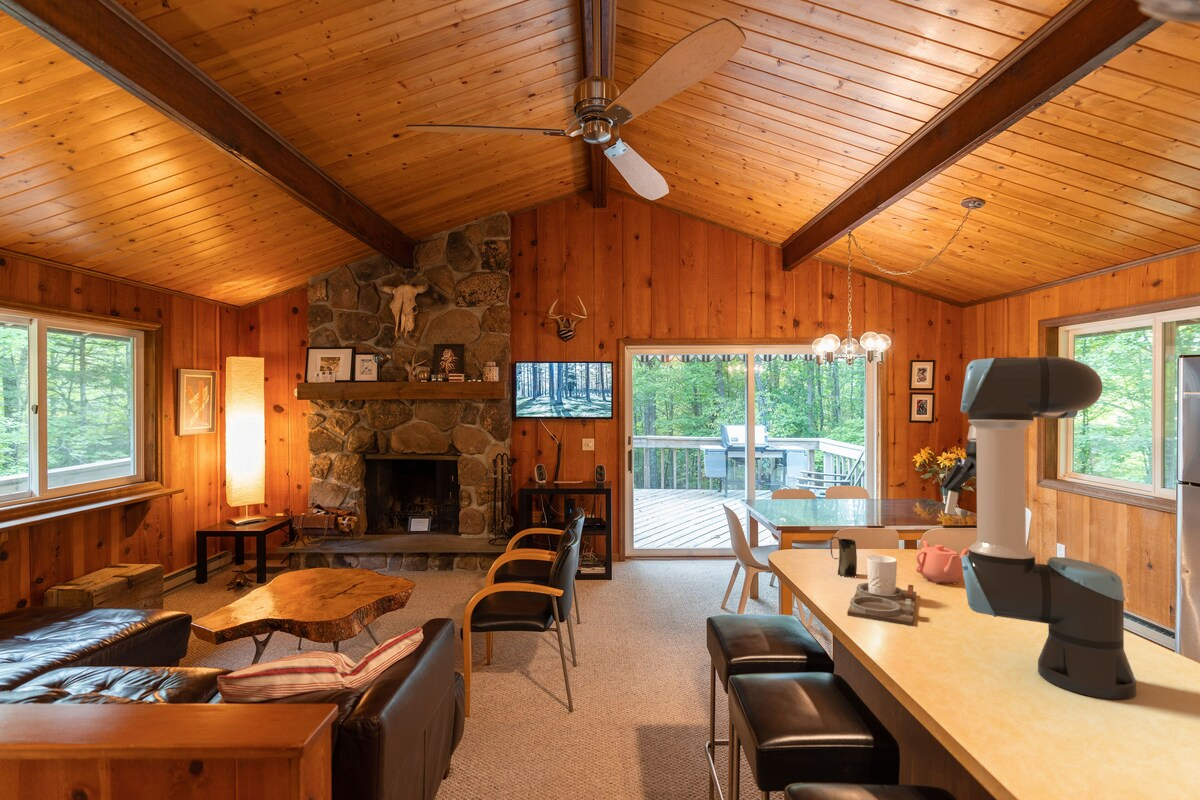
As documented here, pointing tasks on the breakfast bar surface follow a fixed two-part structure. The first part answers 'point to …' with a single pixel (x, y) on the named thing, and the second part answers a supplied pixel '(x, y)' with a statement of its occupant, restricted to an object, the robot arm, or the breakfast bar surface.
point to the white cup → (881, 574)
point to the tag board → (884, 605)
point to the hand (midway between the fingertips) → (969, 517)
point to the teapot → (940, 563)
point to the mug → (846, 557)
